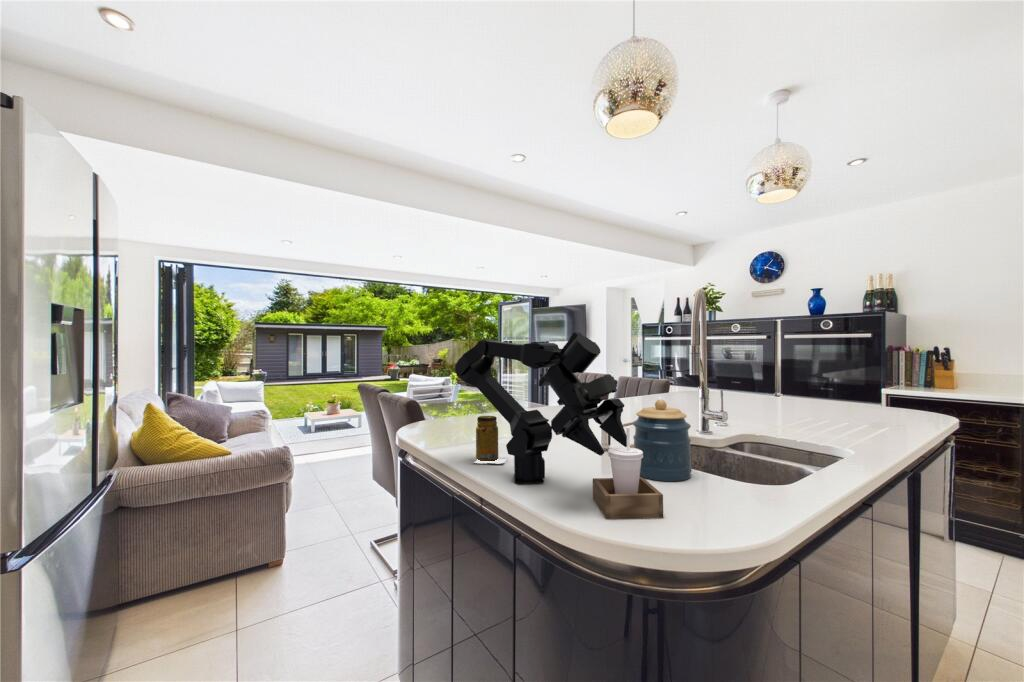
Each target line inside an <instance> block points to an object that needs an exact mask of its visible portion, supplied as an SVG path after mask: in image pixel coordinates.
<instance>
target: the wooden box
mask: <svg viewBox="0 0 1024 682" xmlns="http://www.w3.org/2000/svg"><path fill="white" fill-rule="evenodd" d="M592 499H593V501H594V503H595V504H596V506H597V507H598V509H599V511H600V512H601V514H602V515H603V516H604V518H605V520H626V519H627V520H628V519H630V520H631V519H637V520H638V519H664V518H665V517H664V494H663V493H662V492H660V490H659V489H657V488H656V487H655V486H654V485H652V484H651V483H650V482H649V481H648V480H646V478H645V477H642V476H640V477H639V486H638V494H615V489H614V482H613V477H602V478H601V477H599V478H592Z"/></svg>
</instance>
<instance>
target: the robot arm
mask: <svg viewBox="0 0 1024 682" xmlns="http://www.w3.org/2000/svg"><path fill="white" fill-rule="evenodd" d="M600 354H601V349H600V346H599V345H598V344H597V343H596V342H595V341H593V340H591V339H590V338H589V337H587V336H584V335H583V334H582V333H581V332H576V331H575V332H573V333H572V334H571V336H570V337H569V339H568V341H567V342H566V343H565V344H564V345H563V347H562V348H560V347H559V345H558V344H557V343H554V342H530V343H524V344H522V343H514V342H513V343H512V342H508V341H507V342H506V341H499V340H498V341H497V340H495V339H481V340H479V341H478V342H477V343H476V344H475V346H473V347H472V348H470V349H469V350H467V351H466V352H464V353H463V354H462V355H461V356H460V358H459V359H458V360H457V362H456V364H455V367H454V371H455V374H456V376H457V378H459V380H461V381H462V382H464V383H465V384H467V385H470V386H472V387H474V388H477V389H478V390H479V392H480V393H481V394H482V395H483V396H484V397H485V398H486V400H488V402H490V404H491V405H492V406H493V407H494V408H495V409H496V411H498V413H499V414H500V415H501V416H502V417H503V418H504V420H506V421H507V423H508V424H509V427H510V429H509V430H510V434H511V436H512V437H511V438H510V440H509V441H508V442H507V443H506V446H505V448H506V451H507V454H508V455H509V456H510V455H511V456H514V457H513V464H514V465H513V467H514V469H513V470H514V473H513V481H514V484H515V485H519V484H520V485H521V484H522V485H523V484H525V485H526V484H528V485H529V484H544V482H545V481H544V479H545V478H546V461H545V458H544V457H543V453H542V452H548V449H549V446H550V443H551V440H552V438H553V432H554V434H555V435H556V436H559V435H561V437H562V438H566V439H568V440H571V441H572V442H574V443H577V444H579V445H581V446H582V447H584V448H586V449H587V450H589V451H591V452H593V453H594V454H596V455H598V456H599V457H600V456H603V455H604V454H605V450H604V448H603V446H602V444H601V443H600V441H599V439H598V438H597V436H596V435H595V433H594V432H593V431H592V428H591V427H590V424H589V423H590V422H589V420H591V419H593V421H594V422H595V423H596V424H598V425H599V426H598V427H599V428H600V429H601V430H602V431H603V432H605V433H606V434H607V435H609V436H610V437H611V438H613V439H614V440H615V441H616V442H618V444H620V445H621V446H622V447H627V432H626V431H625V428H624V426H623V423H622V413H623V412H624V407H625V404H624V402H622V400H621V399H620V398H615V397H613V398H607V399H604V398H603V397H605V396H607V395H609V394H612V393H616V392H618V389H617V387H618V380H617V379H615V377H614V376H612V375H611V374H609V373H608V374H604V375H603V376H600V377H597V378H595V379H593V380H591V381H589V382H588V381H587V382H586V381H585V382H583V381H581V380H580V379H579V378H578V376H577V375H576V374H579V373H580V374H583V373H585V372H586V370H587V369H588V368H589V367H590V365H591V364H593V362H594V361H595V360H596V359H597V357H598V356H599V355H600ZM495 357H497V358H503V359H507V360H508V359H509V360H514V361H518V362H520V363H522V364H523V365H524V366H526V367H529V368H531V369H534V370H535V369H537V370H540V369H547V370H546V372H544V373H540V374H539V381H538V386H539V387H548V386H550V388H551V390H552V391H553V392H554V393H555V395H556V396H557V397H558V399H557V401H556V402H557V404H558V406H559V407H560V406H563V407H562V408H561V409H560V410H559V411H558V412H557V413H556V415H554V417H553V418H552V419H551V421H550V420H549V419H548V418H546V417H544V415H543V414H542V413H541V411H539V410H538V409H533V410H526V409H525V408H524V407H523V406H522V405H521V404H520V403H519V402H518V401H517V400H516V399H515V397H513V395H511V393H510V392H508V391H507V390H506V389H505V388H504V386H503V385H502V384H500V382H499V381H497V379H496V378H495V377H494V376H493V373H492V366H493V365H494V362H495ZM599 404H600V405H599ZM549 421H550V422H549Z"/></svg>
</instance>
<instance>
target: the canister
mask: <svg viewBox="0 0 1024 682" xmlns="http://www.w3.org/2000/svg"><path fill="white" fill-rule="evenodd" d="M635 415H636V416H637V419H636V420H634V421H633V422H632V425H633V427H634V428H635V430H634V435H633V436H632V437H633V448H636V449H639V450H641V451H642V452H643V458H642V459H641V468H640V477H643V478H644V479H649V480H653V481H661V482H662V481H663V482H679V481H686V480H688V479H689V478H691V476H692V475H691V473H692V471H693V470H692V463H691V462H692V461H691V458H692V457H691V453H692V452H691V441H692V440H691V438H690V436H689V431H690V429H691V428H692V427H691V424H690V423H688V421H686V418H687V416H688V415H687V414H686V413H685V412H682V411H681V410H680V409H679V408H675V407H668V406H667V402H666V401H665V400H664V399H656V401H655V403H654V406H647V407H643V408H641V409H640V410H639V411H638V412H636V414H635Z"/></svg>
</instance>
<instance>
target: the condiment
mask: <svg viewBox="0 0 1024 682" xmlns="http://www.w3.org/2000/svg"><path fill="white" fill-rule="evenodd" d="M497 418H498V417H496V416H495V415H480V416H477V418H476V420H477V422H476V425H477V426H476V427H475V436H476V437H475V448H476V449H475V457H476V459H478V460H480V461H495V460H497V459H498V458H499V426H498V422H497ZM476 459H475V460H476Z"/></svg>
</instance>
